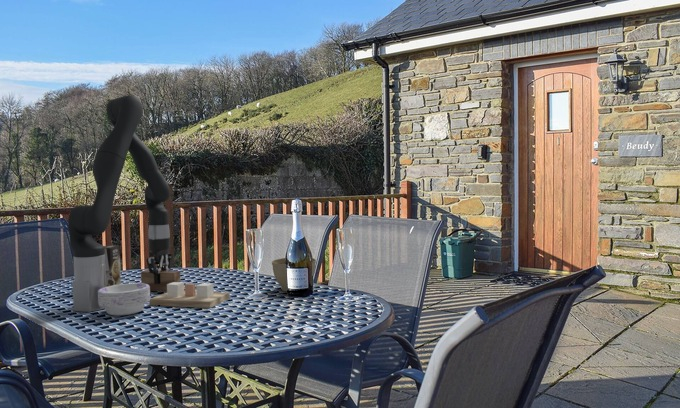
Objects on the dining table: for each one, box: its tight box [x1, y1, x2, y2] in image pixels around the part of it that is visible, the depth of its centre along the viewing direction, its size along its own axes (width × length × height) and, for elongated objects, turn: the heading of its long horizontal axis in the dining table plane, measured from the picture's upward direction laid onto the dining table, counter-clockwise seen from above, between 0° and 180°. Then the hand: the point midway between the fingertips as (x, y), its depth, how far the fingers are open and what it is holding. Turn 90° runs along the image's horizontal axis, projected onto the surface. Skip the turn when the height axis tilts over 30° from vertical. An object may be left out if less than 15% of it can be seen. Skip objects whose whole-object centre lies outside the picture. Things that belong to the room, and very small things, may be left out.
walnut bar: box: [140, 269, 182, 293], centre depth 207 cm, size 4×14×7 cm, turn 75°
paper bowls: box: [98, 282, 151, 316], centre depth 174 cm, size 15×15×8 cm
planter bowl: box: [271, 257, 317, 292], centre depth 203 cm, size 16×16×11 cm
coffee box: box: [103, 244, 122, 287], centre depth 211 cm, size 9×6×16 cm
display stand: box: [148, 282, 231, 309], centre depth 187 cm, size 14×22×6 cm, turn 75°
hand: (160, 282), depth 207 cm, fingers closed on walnut bar, 4 cm apart
